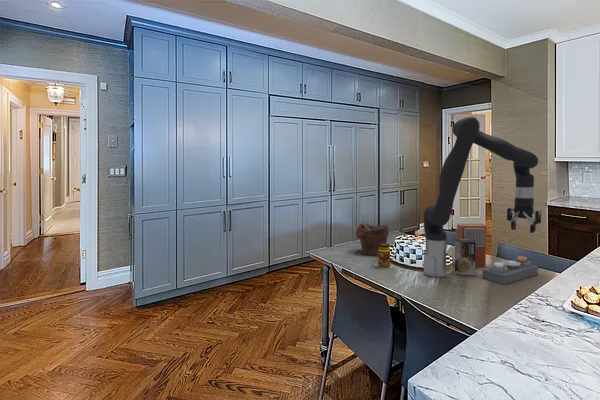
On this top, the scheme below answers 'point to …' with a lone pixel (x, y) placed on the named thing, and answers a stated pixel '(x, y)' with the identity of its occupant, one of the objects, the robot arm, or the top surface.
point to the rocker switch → (511, 263)
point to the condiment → (383, 256)
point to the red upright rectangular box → (479, 235)
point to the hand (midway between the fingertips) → (522, 231)
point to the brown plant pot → (372, 237)
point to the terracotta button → (522, 259)
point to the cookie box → (465, 256)
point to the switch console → (510, 272)
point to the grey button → (498, 265)
